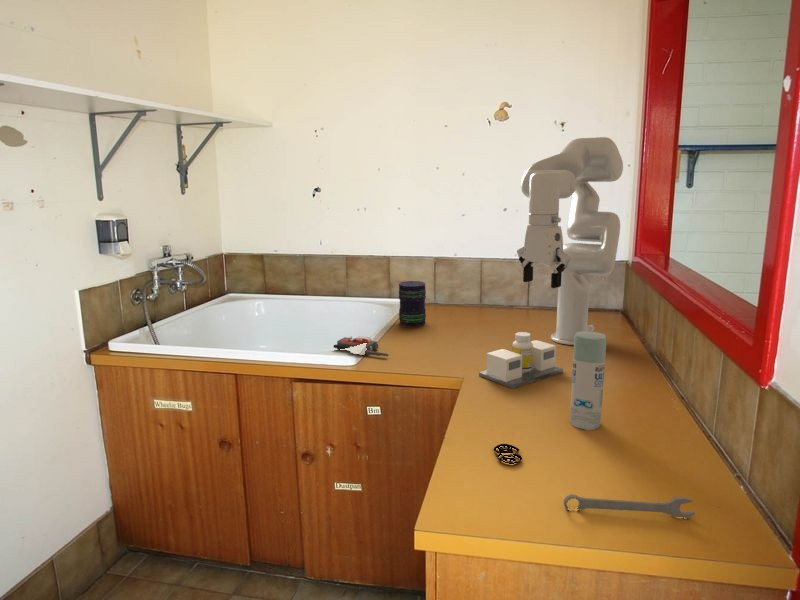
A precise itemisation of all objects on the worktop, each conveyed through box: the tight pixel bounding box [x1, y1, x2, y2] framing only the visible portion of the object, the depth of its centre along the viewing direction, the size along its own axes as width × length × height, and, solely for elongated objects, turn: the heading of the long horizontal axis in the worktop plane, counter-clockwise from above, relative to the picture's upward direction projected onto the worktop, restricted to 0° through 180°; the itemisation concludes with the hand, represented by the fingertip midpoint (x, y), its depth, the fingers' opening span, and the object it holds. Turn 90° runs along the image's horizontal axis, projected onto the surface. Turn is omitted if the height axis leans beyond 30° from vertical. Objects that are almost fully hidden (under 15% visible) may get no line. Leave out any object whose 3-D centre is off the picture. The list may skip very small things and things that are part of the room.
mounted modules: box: [485, 339, 557, 382], centre depth 154 cm, size 20×7×6 cm, turn 126°
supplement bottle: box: [511, 331, 533, 371], centre depth 153 cm, size 5×5×10 cm
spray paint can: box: [569, 331, 608, 431], centre depth 121 cm, size 6×6×20 cm
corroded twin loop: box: [493, 443, 523, 464], centre depth 110 cm, size 5×8×1 cm, turn 0°
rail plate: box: [478, 365, 564, 389], centre depth 154 cm, size 20×12×2 cm, turn 126°
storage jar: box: [398, 280, 427, 327], centre depth 207 cm, size 10×10×15 cm
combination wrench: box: [563, 494, 696, 519], centre depth 90 cm, size 4×1×20 cm
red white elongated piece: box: [333, 335, 389, 357], centre depth 176 cm, size 9×4×20 cm
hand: (541, 284), depth 153 cm, fingers open, 9 cm apart
